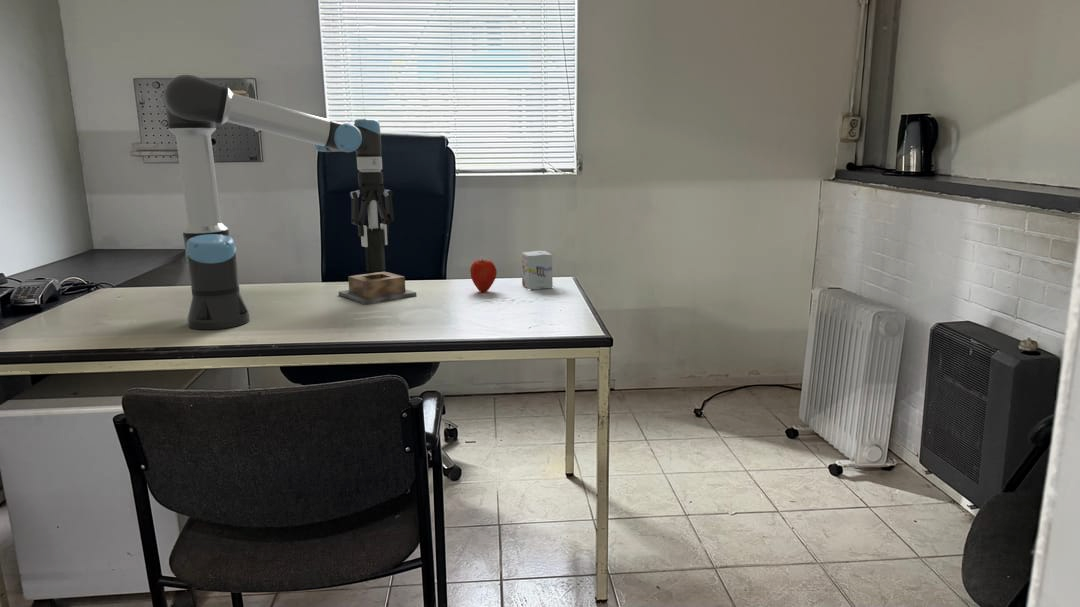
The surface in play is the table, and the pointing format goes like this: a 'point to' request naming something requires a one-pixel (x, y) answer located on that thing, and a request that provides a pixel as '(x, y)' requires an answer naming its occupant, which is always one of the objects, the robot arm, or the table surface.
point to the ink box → (537, 269)
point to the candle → (374, 241)
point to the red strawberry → (483, 274)
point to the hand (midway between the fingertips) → (374, 245)
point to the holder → (376, 287)
